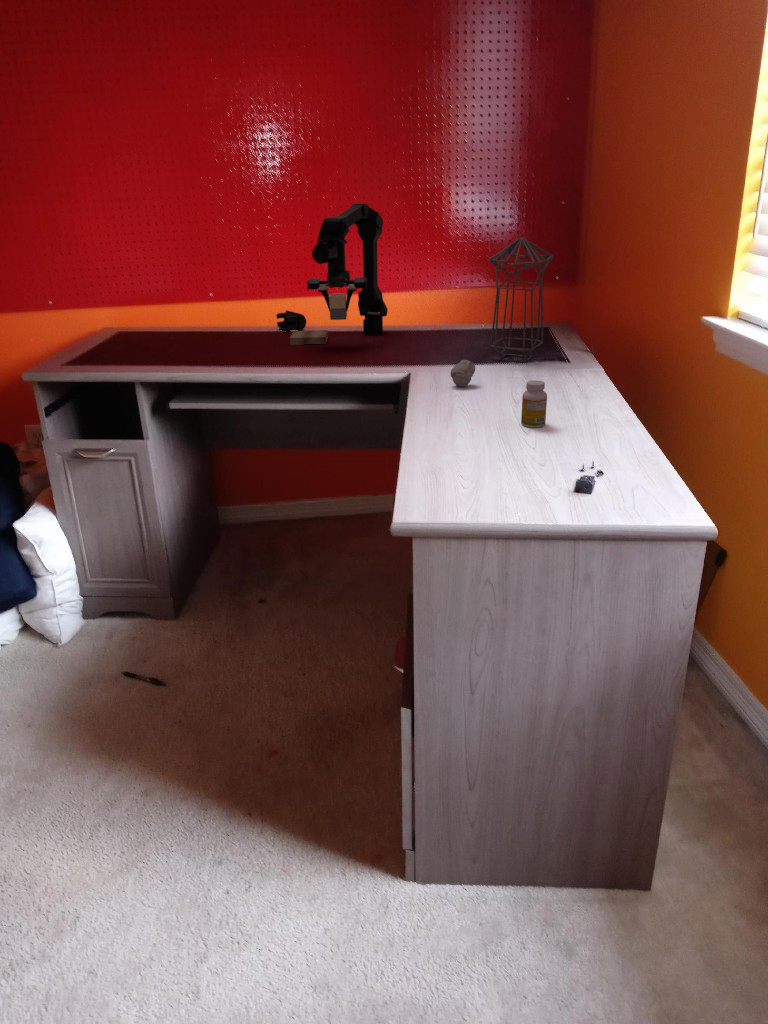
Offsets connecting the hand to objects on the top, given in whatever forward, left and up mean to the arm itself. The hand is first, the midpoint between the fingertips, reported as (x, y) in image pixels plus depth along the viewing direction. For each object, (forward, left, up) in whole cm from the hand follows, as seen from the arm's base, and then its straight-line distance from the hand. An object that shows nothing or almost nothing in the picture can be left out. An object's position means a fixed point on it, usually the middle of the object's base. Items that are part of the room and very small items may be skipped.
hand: (338, 311), depth 252 cm
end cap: (+19, -32, -12) cm, 39 cm away
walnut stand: (+11, -12, -12) cm, 20 cm away
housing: (0, 0, -2) cm, 2 cm away
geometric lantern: (-54, +22, -12) cm, 60 cm away
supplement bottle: (-48, +87, -12) cm, 100 cm away
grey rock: (-35, +52, -12) cm, 64 cm away
